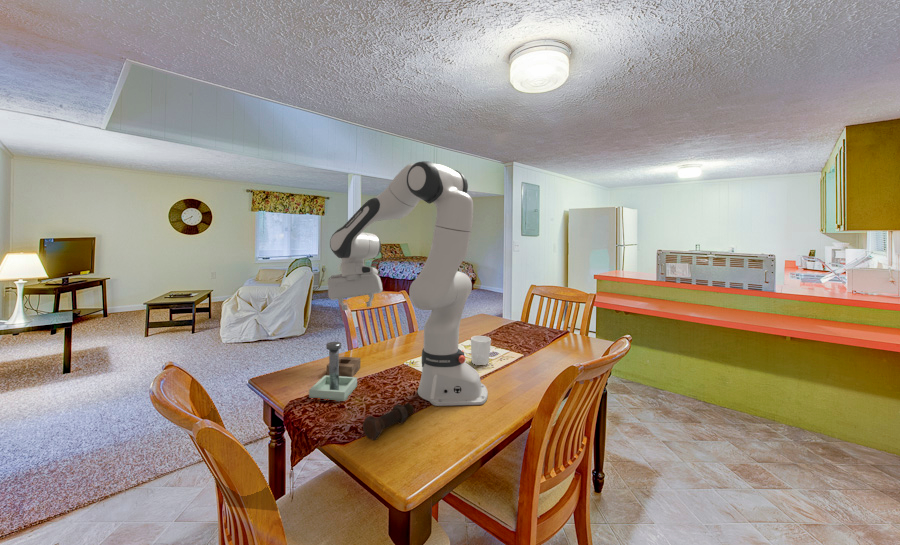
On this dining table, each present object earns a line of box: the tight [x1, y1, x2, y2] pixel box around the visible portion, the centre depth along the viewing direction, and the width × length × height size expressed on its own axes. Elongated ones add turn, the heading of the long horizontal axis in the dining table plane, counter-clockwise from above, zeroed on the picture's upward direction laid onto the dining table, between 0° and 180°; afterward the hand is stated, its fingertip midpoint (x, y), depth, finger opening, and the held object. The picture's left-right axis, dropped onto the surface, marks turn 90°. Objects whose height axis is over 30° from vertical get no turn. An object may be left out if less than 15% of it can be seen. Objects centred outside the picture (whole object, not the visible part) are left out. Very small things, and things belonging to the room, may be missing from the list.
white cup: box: [470, 335, 492, 366], centre depth 141 cm, size 8×8×10 cm
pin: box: [326, 341, 342, 390], centre depth 111 cm, size 4×4×15 cm
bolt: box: [362, 402, 415, 441], centre depth 94 cm, size 6×5×15 cm
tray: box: [308, 374, 358, 402], centre depth 112 cm, size 11×11×3 cm
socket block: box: [326, 356, 361, 377], centre depth 128 cm, size 9×9×4 cm
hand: (356, 308), depth 133 cm, fingers open, 8 cm apart
